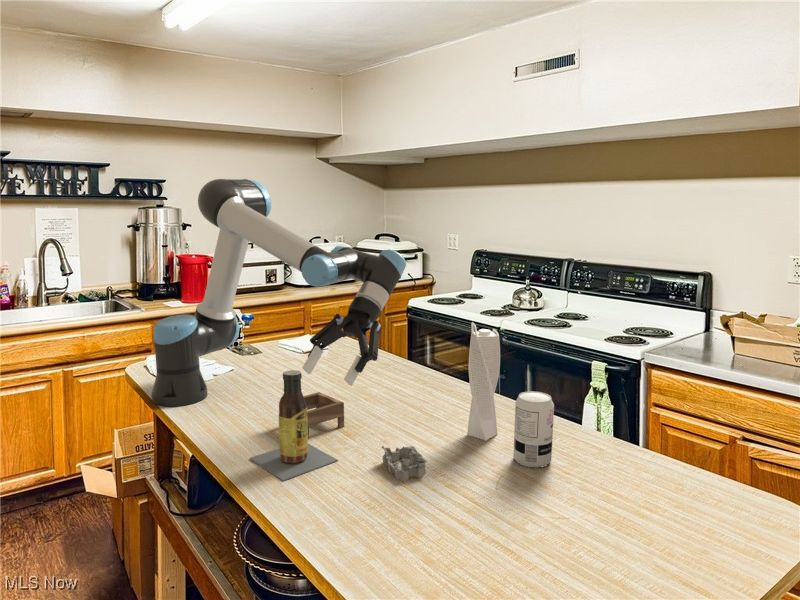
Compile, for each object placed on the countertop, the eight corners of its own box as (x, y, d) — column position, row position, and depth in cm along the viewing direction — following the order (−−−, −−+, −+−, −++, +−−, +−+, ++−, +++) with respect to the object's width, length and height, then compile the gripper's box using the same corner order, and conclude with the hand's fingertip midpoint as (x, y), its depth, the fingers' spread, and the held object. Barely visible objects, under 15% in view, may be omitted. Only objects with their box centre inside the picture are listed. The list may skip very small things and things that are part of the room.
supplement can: (509, 453, 136) (511, 390, 133) (544, 452, 136) (547, 390, 134) (519, 470, 128) (521, 403, 125) (556, 468, 128) (559, 402, 126)
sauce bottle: (302, 466, 128) (299, 378, 125) (275, 463, 130) (271, 376, 126) (312, 453, 135) (310, 369, 131) (286, 451, 136) (283, 367, 132)
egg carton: (379, 462, 132) (379, 444, 131) (411, 457, 135) (411, 440, 134) (395, 483, 122) (395, 465, 121) (429, 477, 125) (429, 459, 124)
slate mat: (249, 459, 133) (249, 457, 132) (302, 441, 142) (302, 440, 142) (283, 481, 122) (283, 480, 122) (337, 461, 132) (337, 459, 132)
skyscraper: (459, 434, 146) (461, 323, 141) (476, 425, 152) (479, 318, 147) (486, 443, 141) (490, 328, 136) (503, 434, 147) (507, 323, 142)
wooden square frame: (281, 426, 151) (280, 402, 150) (319, 415, 159) (319, 392, 158) (305, 439, 143) (304, 414, 142) (344, 426, 151) (343, 402, 150)
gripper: (414, 319, 142) (374, 396, 134) (339, 306, 157) (298, 374, 149) (401, 301, 137) (358, 379, 128) (324, 289, 152) (281, 358, 143)
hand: (326, 376), depth 139 cm, fingers open, 13 cm apart
